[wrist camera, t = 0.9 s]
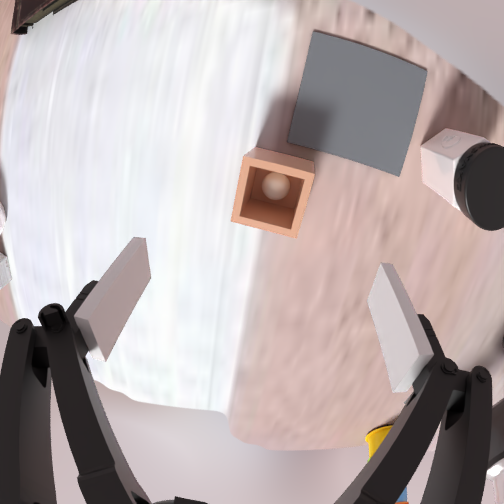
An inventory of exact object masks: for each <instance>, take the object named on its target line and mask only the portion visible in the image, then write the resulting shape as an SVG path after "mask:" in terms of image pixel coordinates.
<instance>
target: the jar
mask: <svg viewBox="0 0 504 504" xmlns="http://www.w3.org/2000/svg"><path fill="white" fill-rule="evenodd" d="M421 165H422V182H423V183H424V184H425V185H427V186H428V187H429V188H431V189H432V190H433V191H435V192H436V193H437V194H439V195H440V196H441V197H442V198H444V199H445V200H446V201H448V202H449V203H450V204H451V205H452V206H454V207H455V208H457V209H458V210H460V211H461V212H463V214H464V215H465V216H467V217H468V218H469V219H470V220H471V221H472V222H474V223H475V224H476V225H477V226H478V227H480V228H482V229H484V230H488V231H494V230H499V229H501V228H503V227H504V147H502V146H500V145H497V144H494V143H490V142H489V141H488V140H487V139H486V138H484V137H481V136H477V135H473V134H470V133H466V132H461V131H457V130H453V129H448V128H445V129H444V130H442V131H441V132H439V133H438V134H437V135H435V136H434V137H432V138H431V139H430V140H428V141H427V142H425V143H424V144H422V145H421Z"/></svg>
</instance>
